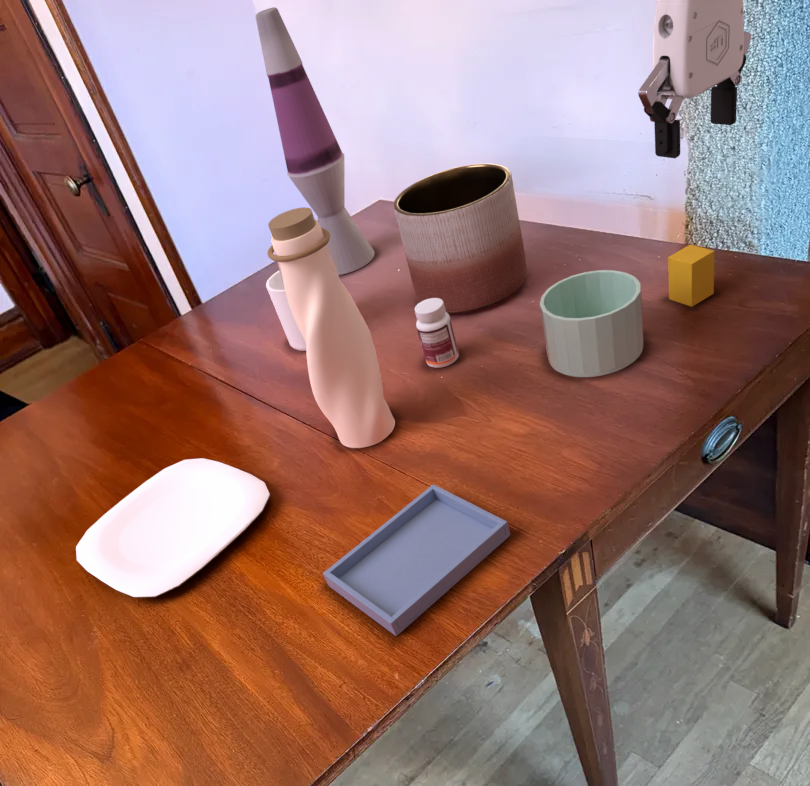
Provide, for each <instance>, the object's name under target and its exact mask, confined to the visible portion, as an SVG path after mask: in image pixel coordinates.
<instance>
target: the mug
mask: <svg viewBox="0 0 810 786" xmlns="http://www.w3.org/2000/svg"><path fill="white" fill-rule="evenodd" d="M265 287H266V290H267V292H268V295H269V297H270V300H271V302H272V305H273V307H274V309H275V311H276V314H277V317H278V320H279V322H280V324H281V327H282V329H283V331H284V335H285V336H286V339H287V341H288V343H289V346H290V347H291V348H292V349H294V350H297V351H300V352H306V350H307V344H306V342H305V340H304V338H303V336H302V334H301V332H300V330H299V328H298V326H297V324H296V321H295V319H294V317H293V314H292V312H291V309H290V306H289V303H288V300H287V297H286V294H285V290H284V286H283V282H282V278H281V274H280V271H279V270H277V271H276V272H274V273H273V274H272V275H271V276H270V277H268V279H267V280H266V283H265Z"/></svg>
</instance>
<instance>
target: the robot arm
mask: <svg viewBox="0 0 810 786" xmlns="http://www.w3.org/2000/svg"><path fill="white" fill-rule="evenodd" d="M655 5H656V6H655V13H654V25H653V26H654V27H653V38H652V39H653V40H652V41H653V42H652V71H651V72H650V74H648V76H647V78H646V79H645V80H644V82H643V83H642V85H640V88H639V89H638V93H637V94H638V98H639V100H640V102H641V104H642V107H643V112H644V113H645V114H646V115H647V116H648V117H649V120H650V122H651V123H654V124H653V125H654V153H655V155H656V157H661V158H668V159H677V158H679V157H680V155H681V120H680V119H677V116H678V114H679V112H680V109H681V106H682V103H683V102H684V99H693V98H695V97H697V96H700V95H701V94H702V93H705V92H706V91H708V90H710V123H711V124H713V125H723V126H732V125H734V124H736V122H737V109H738V107H737V106H738V86H739V85H740V84H741V82H742V75H741V73H742V71H743V69H744V67H745V66H746V62H747V55H748V51H749V47H750V44H751V40H752V33H750V32H747V31H745V24H744V23H745V22H744V0H656V4H655ZM668 100H671V101H670V104H669V107H667V106H666V104H667V101H668Z"/></svg>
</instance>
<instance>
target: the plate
mask: <svg viewBox="0 0 810 786" xmlns="http://www.w3.org/2000/svg"><path fill="white" fill-rule="evenodd" d="M270 498H271V493H270V492H269V489H268V487H267V485H266V483H265V481H263V480H261V479H260V478H258V477H256V476H254V475H253V474H251V473H250V472H246V471H244V470H241V469H240V468H237V467H234V466H232V465H229V464H226V463H224V462H221V461H218V460H214V459H213V460H212V459H208V458H205V457H201V458H200V457H199V458H198V457H197V458H188V459H182V460H181V461H178V462H176V463H174V464H172V465H169V466H167V467H165V468H163V469H161V470H160V471H158V472H157V473H156V474H154V475H153V476H151V477H150V478H149V479H147V480H145V481H144V482H143V483H142V484H141V485H139V486H138V487H137V488H135V489H134V490H133V491H132V492H130V493H128V494H127V495H126V496H125V497H123V498H122V499H121V500H120V501H119V502H118V503H116V504H115V505H114V506H113V507H111V508H110V509H109V510H108V511H107V512H106V513H104V514H103V515H102V516H101V517H99V518H98V519H97V521H95V522H94V523H93V524H92V525H91V526H89V528H88V529H87V530H86V531H85V533H84V534H83V536H82V537H81V538H80V540H79V542H78V543H77V545H76V546H75V553H76V555H75V556H76V561H77V563H79V564H80V566H81V567H82V568H84V570H86V572H88V574H90V575H92V576H93V577H95V579H98V580H99V581H101V582H102V583H104V584H105V585H107V586H108V587H110V588H112V589H113V590H115V591H117V592H119V593H120V594H121V593H122V594H124V595H126V596H128V597H131V598H134V599H146V598H147V599H149V598H150V599H151V598H158V597H161V596H162V595H164V594H167V593H169V592H171V591H172V590H175V589H177V588H179V587H181V586H182V585H184V584H185V583H187V581H189V580H190V579H192V578H193V577H194V576H196V574H198V573H200V572H201V571H202V570H203V569H204V568H206V567H207V566H208V565H209V564H210V563H211V562H212V561H214V560H215V559H216V558H217V557H218V556H219V555H220V554H222V553H223V552H224V551H225V550H226V549H227V548H229V547H230V545H231V544H233V543H234V542H235V541H236V540H237V539H238V538H239V537H240V536H242V534H243V533H244V532H245V531H247V529H249V527H250V526H251V525H252V524H253V523H254V522H255V520H256V519H257V518H258V517H259V516H260V515H261V514H262V513H263V512H264V510H265V507H266V505H267V504H268V501H269V499H270Z"/></svg>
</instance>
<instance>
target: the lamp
mask: <svg viewBox="0 0 810 786" xmlns="http://www.w3.org/2000/svg"><path fill="white" fill-rule="evenodd" d="M255 21H256V27H257V31H258V37H259V43H260V47H261V53H262V56H263V62H264V68H265V73H266V77H267V78H268V82H269V88H270V92H271V98H272V102H273V107H274V112H275V117H276V121H277V127H278V131H279V137H280V142H281V147H282V150H283V151H282V152H283V156H284V162H285V165H286V166H285V167H286V171H287V176H288V178H289V179H290V181H291V182H292V183H293V185H294V186H295V187H296V189H297V190H298V192H299V193H300V194H301V196H302V197H303V199H304V200H305V201H306V202H307V204H308V206H309V208H310V209H311V210H312V212H314V213H315V215H316V216H317V221H318V223H319V225H320V227H321V228H324V229H326V230H327V231H328V232H329V234H330V240H329V242H328V244H327V246H328V248H329V251H330V254H331V257H332V260H333V262H334V265H335V268H336V270H337V273H338V276H343V275H347V274H351V273H353V272H356V271H358V270H360V269H362V268H364V267H365V266H367V265H368V264H370V263H371V261H372V260H373V259H374V257H375V253H376V252H375V250H374V248H373V247H372V246H371V244H370V243H369V241H368V240H367V239H366V237H365V235H364V234H363V232H362V231H361V229H360V228H359V226H358V225H357V223H356V222H355V220H354V219H353V217H352V216H351V214H350V213H349V211H348V210H347V208H346V207H345V153H343V151H342V149H341V146H340V145H339V144H340V143H339V142H338V140H337V137H336V136H335V134H334V131H333V128H332V127H331V124H330V122H329V120H328V118H327V115H326V113H325V111H324V110H323V109H324V108H323V106H322V105H321V103H320V101H319V98H318V96H317V94H316V91H315V90H314V87H313V85H312V82H311V81H310V78H309V76H308V73H307V72H306V70H305V67H304V65H303V61H302V59H301V57H300V54H299V52H298V50H297V48H296V46H295V43H294V42H293V39H292V37H291V35H290V33H289V31H288V28H287V26H286V23H285V21H284V20H283V17H282V15H281V14H280V10H279V9H278V8H277V7H275V6H274V7H269V8H266V9H263V10H261V11H259V12H257V13H256V14H255ZM324 237H325V236H324Z"/></svg>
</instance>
